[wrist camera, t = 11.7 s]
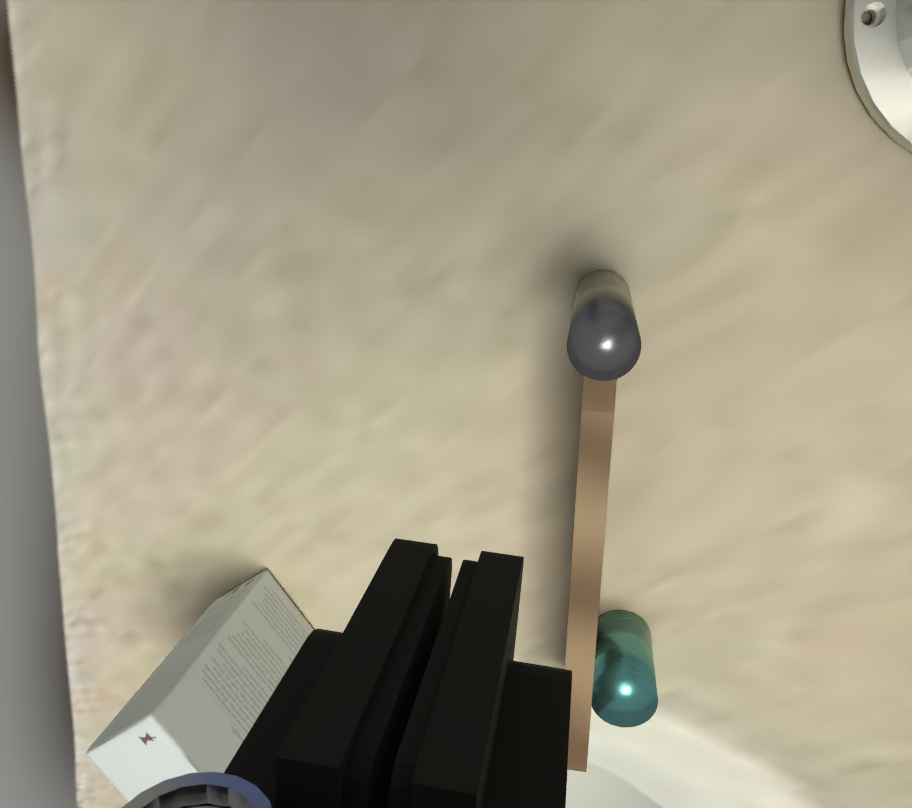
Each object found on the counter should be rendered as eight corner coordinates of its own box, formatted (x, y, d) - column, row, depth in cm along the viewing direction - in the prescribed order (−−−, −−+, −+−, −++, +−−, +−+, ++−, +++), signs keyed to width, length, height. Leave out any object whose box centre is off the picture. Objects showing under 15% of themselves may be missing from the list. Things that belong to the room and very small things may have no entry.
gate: (586, 331, 35) (583, 369, 29) (613, 332, 35) (617, 371, 29) (564, 672, 41) (558, 768, 34) (588, 675, 40) (586, 771, 34)
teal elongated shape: (635, 267, 35) (649, 306, 25) (651, 661, 40) (668, 814, 31) (567, 273, 35) (555, 313, 26) (592, 661, 41) (590, 810, 31)
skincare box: (212, 599, 44) (78, 751, 33) (268, 566, 43) (149, 711, 31) (277, 682, 45) (168, 857, 33) (334, 651, 43) (241, 823, 32)
